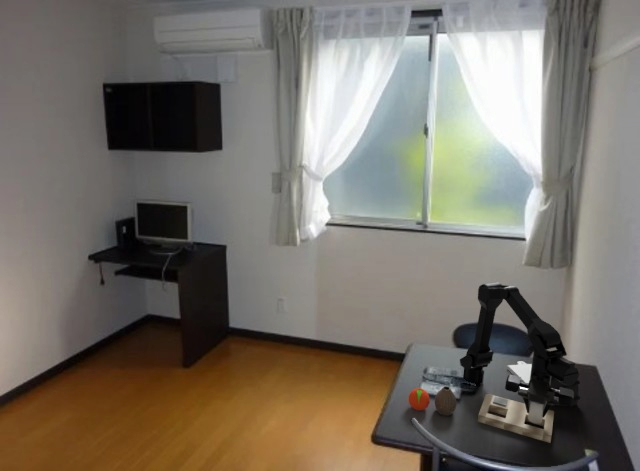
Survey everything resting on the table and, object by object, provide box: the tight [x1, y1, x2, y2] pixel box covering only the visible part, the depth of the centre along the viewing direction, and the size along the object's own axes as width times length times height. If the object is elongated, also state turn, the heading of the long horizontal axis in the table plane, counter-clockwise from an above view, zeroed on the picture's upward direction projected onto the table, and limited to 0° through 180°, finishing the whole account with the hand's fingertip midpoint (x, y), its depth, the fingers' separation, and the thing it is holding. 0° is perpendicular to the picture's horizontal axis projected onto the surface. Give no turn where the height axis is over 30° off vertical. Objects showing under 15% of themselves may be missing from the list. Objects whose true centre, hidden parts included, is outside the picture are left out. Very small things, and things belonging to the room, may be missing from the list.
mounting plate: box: [506, 360, 532, 383], centre depth 179 cm, size 18×13×2 cm
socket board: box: [477, 393, 555, 444], centre depth 153 cm, size 21×14×3 cm, turn 62°
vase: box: [434, 385, 457, 416], centre depth 156 cm, size 7×7×9 cm
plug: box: [528, 401, 545, 425], centre depth 147 cm, size 5×5×8 cm
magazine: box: [550, 377, 581, 407], centre depth 161 cm, size 4×13×15 cm, turn 92°
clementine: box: [408, 387, 431, 411], centre depth 157 cm, size 8×7×7 cm
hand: (535, 414), depth 148 cm, fingers closed on plug, 4 cm apart
